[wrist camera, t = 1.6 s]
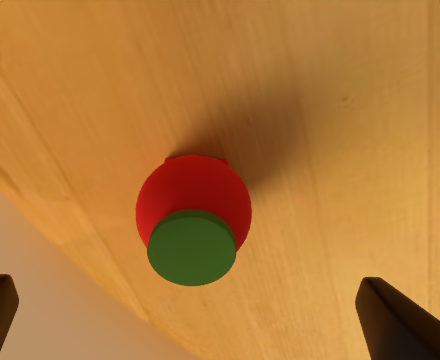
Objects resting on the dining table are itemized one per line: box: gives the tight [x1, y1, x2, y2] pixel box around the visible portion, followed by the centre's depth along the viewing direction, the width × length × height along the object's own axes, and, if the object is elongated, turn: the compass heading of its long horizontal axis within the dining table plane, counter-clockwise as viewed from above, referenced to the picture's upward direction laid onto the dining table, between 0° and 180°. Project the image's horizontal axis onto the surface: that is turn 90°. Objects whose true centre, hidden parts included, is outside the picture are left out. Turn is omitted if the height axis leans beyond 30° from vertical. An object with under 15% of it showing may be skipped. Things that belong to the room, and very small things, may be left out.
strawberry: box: [136, 155, 252, 286], centre depth 11 cm, size 4×4×4 cm
